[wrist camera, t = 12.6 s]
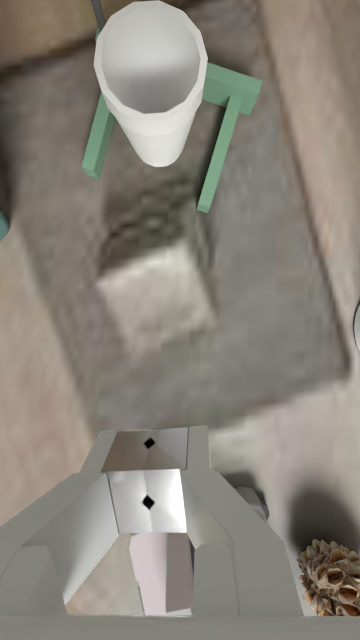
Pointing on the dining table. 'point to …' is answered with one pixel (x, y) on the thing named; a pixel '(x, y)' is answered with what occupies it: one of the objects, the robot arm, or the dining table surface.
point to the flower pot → (3, 226)
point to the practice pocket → (218, 89)
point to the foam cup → (152, 76)
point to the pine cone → (331, 579)
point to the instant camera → (172, 565)
